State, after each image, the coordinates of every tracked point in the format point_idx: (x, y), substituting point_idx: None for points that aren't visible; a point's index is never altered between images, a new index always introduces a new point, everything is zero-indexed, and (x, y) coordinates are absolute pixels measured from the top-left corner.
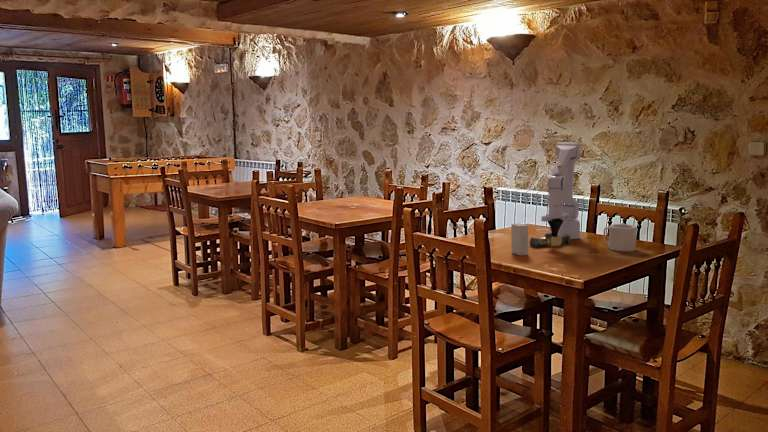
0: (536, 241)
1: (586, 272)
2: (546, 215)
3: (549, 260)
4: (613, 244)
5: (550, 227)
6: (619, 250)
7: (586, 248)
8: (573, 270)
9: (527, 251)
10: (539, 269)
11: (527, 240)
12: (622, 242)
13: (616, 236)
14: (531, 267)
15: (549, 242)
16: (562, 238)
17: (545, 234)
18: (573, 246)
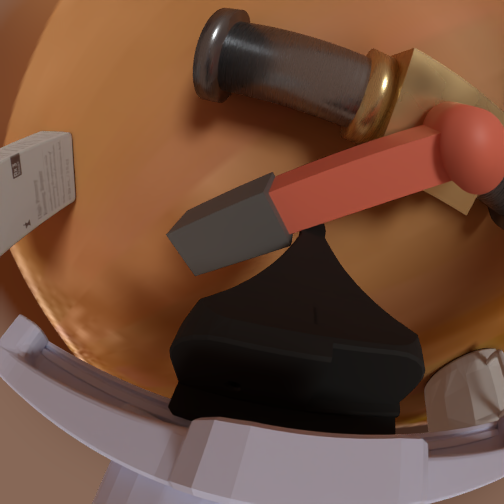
0: (201, 97)
1: (131, 381)
2: (60, 423)
3: (105, 299)
4: (437, 393)
5: (270, 266)
6: (424, 389)
7: (432, 311)
8: (114, 364)
9: (62, 206)
10: (54, 312)
11: (22, 234)
12: (428, 417)
13: (433, 428)
14: (43, 294)
15: (347, 139)
16: (482, 195)
17: (171, 230)
18: (452, 248)
